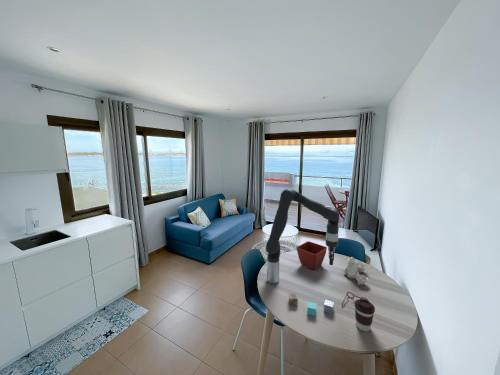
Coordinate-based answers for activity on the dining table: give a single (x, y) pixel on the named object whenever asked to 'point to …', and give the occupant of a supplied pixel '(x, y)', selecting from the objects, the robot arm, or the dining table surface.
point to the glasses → (351, 297)
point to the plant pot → (311, 254)
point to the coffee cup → (364, 314)
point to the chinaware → (355, 271)
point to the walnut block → (293, 299)
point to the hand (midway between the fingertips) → (330, 261)
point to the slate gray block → (328, 306)
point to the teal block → (311, 309)
